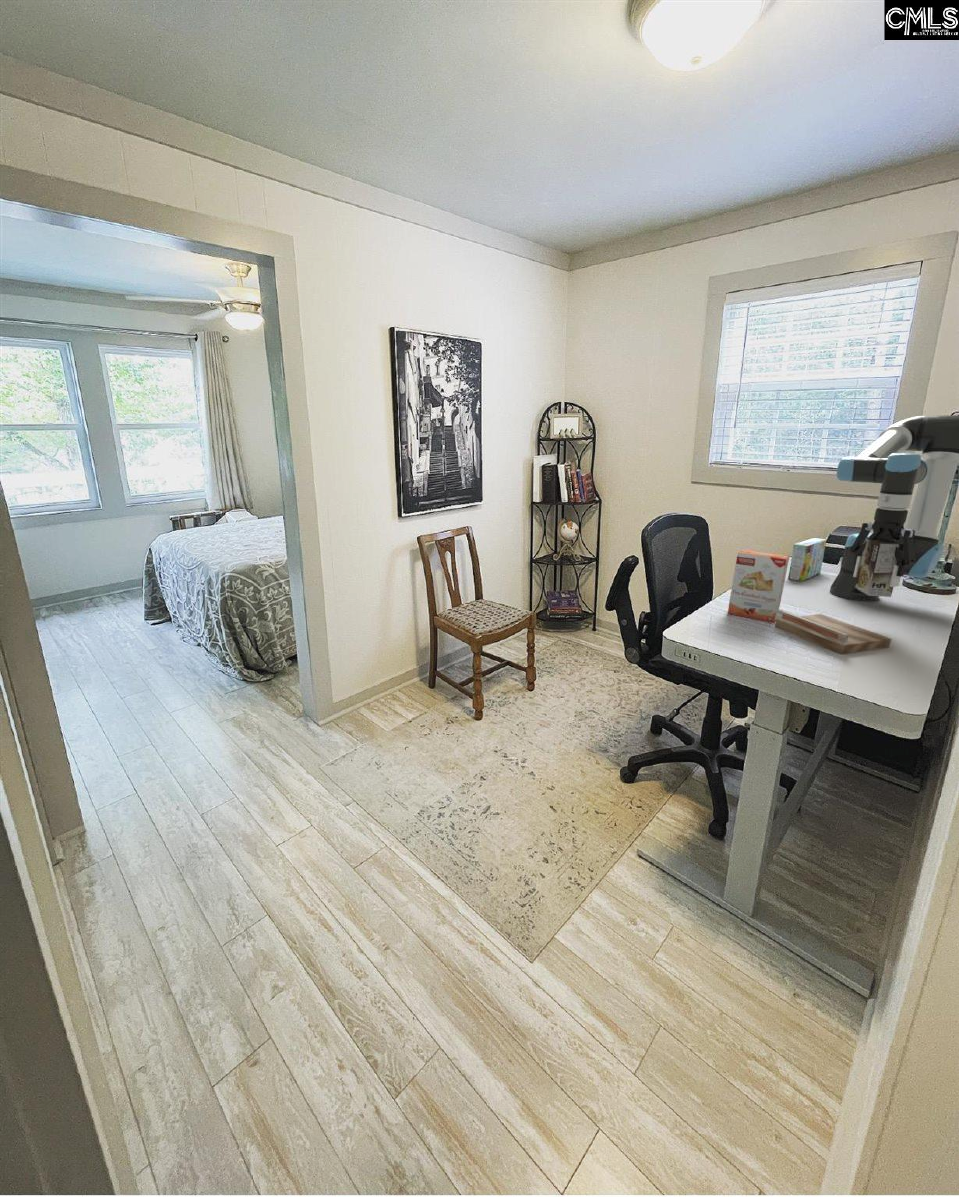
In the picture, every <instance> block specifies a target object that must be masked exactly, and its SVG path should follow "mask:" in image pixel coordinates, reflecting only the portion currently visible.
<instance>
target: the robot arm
mask: <svg viewBox="0 0 959 1197" xmlns="http://www.w3.org/2000/svg"><path fill="white" fill-rule="evenodd" d="M877 438H878V439H876V440H875V441H874V442H873V443H872V444H870V446H868V447H867V448H866V449H865V450H863V451H862V452H861V453H860V454H858V455H857V456H845V457H842V458H841V459H840V460H839V462H838V464H837V468H836V477H837V479H838V481H842V482H849V483H866V484H868V483H869V484H881V486H880V490H879V494H878V495H879V496H878V498H877V499H878V500H877V504H876V506H877V508H876V509H875V512H874V517H873V520H874V522H873V523H872V522H863V523H862V525H861V529H860V531H859V533H853V534H849V536H848V537H847V538H846V542H845V545H844V551H843V553H842V554H843V556H842V560H841V564H840V568H839V572H838V574H837V576H836V577H835V579H834V580H833V582H832V584H831V585H830V589H829V592H830V594H833V595H835V596H838V597H840V598H844V599H850V600H855V601H866V602H867V601H878V600H879V598H880V596H869V595H867V594H865V593H863V592H862V591H860V590H858V589H857V588H855V586H856V581H857V577H858V572H859V567H860V562H861V558H862V553H863V550H864V549H865V547H866V542H867V541H866V542H865V539H866V538H869V539H871V540H875V539H883V540H885V541H889V543H903V551H901V550H900V549H899V548H898V547H896V549H895V557H896V560H897V563H898V564H897V565H894V569H893V573H892V577H891V582H890V587H893V588H894V587H899V585H900V582H901V577H904V576H908V577H915V578H926V577H928V576H930V575H931V573H932V572H933V571H934V570H935V568H936V566H937V565H938V563H939V560H940V558H941V556H942V553H943V550H944V547H943V545H942V544H939V542H940V538H939V537H938V536H937V534H936V533H937V531H938V526H939V524H940V521H941V518H942V515H943V511H944V508H945V506H946V503H947V500H948V496H949V493H950V490H951V487H952V485H953V480H954V477H955V475H956V471H957V468H958V466H959V414H954V415H953V414H952V415H951V414H950V415H917V416H912V417H909V418H906V419H902V420H900V421H897V422H896V423H893V424H891V425H890V426H888V427H887V428H885V429H884V430H882V431H881V433H880V434H879V436H878V437H877ZM907 451H908V452H911V453H907ZM912 452H921V454H919V453H912ZM922 458H923V459H922ZM915 485H917V486H916V489H915ZM914 489H915V492H914ZM913 493H914V496H913ZM912 498H913V500H912ZM911 501H912V503H911ZM909 508H910V509H909ZM908 509H909V511H908ZM871 531H873V532H871Z"/></svg>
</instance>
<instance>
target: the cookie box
mask: <svg viewBox="0 0 959 1197" xmlns="http://www.w3.org/2000/svg"><path fill="white" fill-rule="evenodd" d="M866 541H867V542H866ZM865 542H866V547H865V549H864V550H863V553H862V558H861V562H860V567H859V572H858V577H857V581H856V586H855V588H857V589H858V590H860V591H862V592H863V593H865V594H867V595H869V596H879V597H886V598H891V597H892V594H893V592H894V591H893V590H894V587H890V582H891V577H892V573H893V569H894V565H897V564H898V563H897V560H896V557H895V549H896V547H898V548H899V549H900V550H901V551H903V543H889V541H885V540H883V539H875V540H871V539H869V538H866V539H865Z"/></svg>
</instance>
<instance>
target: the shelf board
mask: <svg viewBox="0 0 959 1197" xmlns="http://www.w3.org/2000/svg"><path fill="white" fill-rule="evenodd" d="M774 623H775V625H774V628H776V629H779V630H781V631H784V632H786V633H788V634H790V635H793V636H796V637H799V638H800V639H803V640H806V641H809V642H810V643H813V644H815V645H818V646H820V647H822V648H824V649H825V648H826V649H827V650H830V651H833V652H835V653H837V654H839V655H847V654H850V653H858V652H863V651H871V650H878V649H885V648H890V646H891V642H892V638H891V637H888V636H886V635H882V634H879V633H876V632H873V631H871V630H868V629H865V628H862V627H859V626H856V625H853V624H851V623H848V622H845V621H842V620H839V619H837V618H834V617H831V616H827V615H825V614H822V613H818V614H817V613H816V614H811V615H809V614H808V615H801V616H799V615H796V614H794V613H792V612H788V611H786V610H783V609H779V610H778V612H777V618H776V620H775V622H774Z"/></svg>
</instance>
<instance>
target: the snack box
mask: <svg viewBox="0 0 959 1197" xmlns="http://www.w3.org/2000/svg"><path fill="white" fill-rule="evenodd" d="M826 544H827V539H826V538H819V537H818V538H817V537H816V538H815V537H813V538H810V539H809V538H808V539H807V540H803V541H800V542H797V543H794V544H793V547H792V554H791V560H790V567H789V570H788V571H789V572H788V576H787V577H788V578H787V580H791V581H796V580H798V581H797V582H802V580H803V581H805V580H807V578H808V579H810V578H812V577H811V576H813V577H815V576H817V575H816V574H818V573H820V574H821V571H822V566H823V560H824V554H825V549H826ZM814 575H815V576H814ZM818 575H819V574H818ZM809 577H810V578H809Z"/></svg>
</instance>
